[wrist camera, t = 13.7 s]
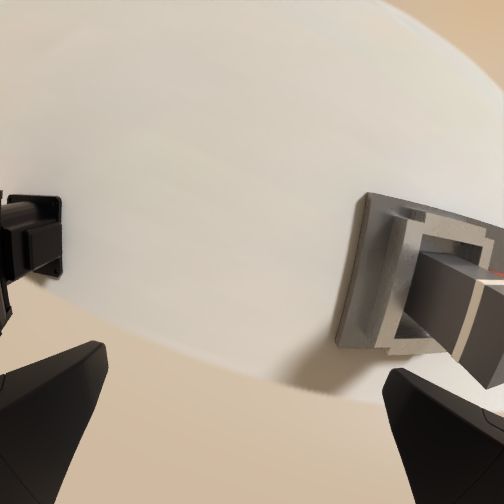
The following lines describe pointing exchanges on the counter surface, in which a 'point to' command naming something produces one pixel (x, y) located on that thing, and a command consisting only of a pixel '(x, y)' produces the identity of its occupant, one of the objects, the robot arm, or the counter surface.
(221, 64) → the counter surface
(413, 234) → the grey socket base
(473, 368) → the plug block
